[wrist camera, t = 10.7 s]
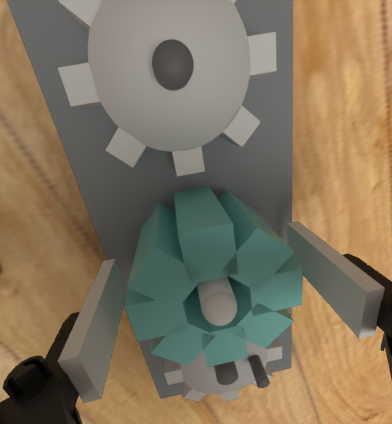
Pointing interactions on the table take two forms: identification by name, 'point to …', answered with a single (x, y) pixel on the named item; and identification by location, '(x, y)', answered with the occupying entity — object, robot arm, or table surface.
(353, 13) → the table surface
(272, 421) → the table surface
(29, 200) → the table surface
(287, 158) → the gear board
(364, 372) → the table surface
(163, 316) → the idler gear
